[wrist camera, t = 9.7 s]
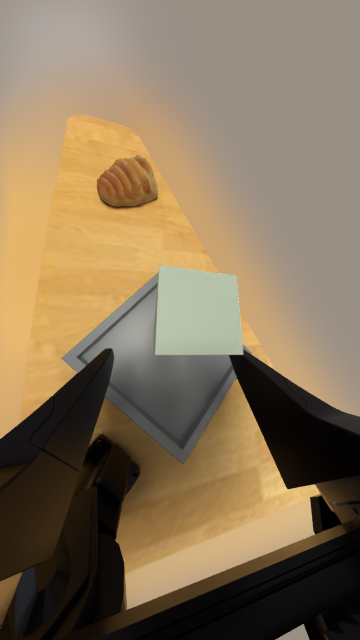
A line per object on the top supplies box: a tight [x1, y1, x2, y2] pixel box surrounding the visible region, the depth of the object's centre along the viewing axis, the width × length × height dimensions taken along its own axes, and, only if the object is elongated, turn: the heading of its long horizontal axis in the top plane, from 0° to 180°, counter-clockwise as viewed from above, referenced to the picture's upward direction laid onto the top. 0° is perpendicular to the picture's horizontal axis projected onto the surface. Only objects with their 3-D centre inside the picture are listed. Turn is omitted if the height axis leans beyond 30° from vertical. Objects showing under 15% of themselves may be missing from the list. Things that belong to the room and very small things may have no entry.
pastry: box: [97, 155, 158, 207], centre depth 21 cm, size 9×7×4 cm
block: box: [153, 265, 243, 355], centre depth 12 cm, size 4×4×12 cm
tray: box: [61, 272, 251, 464], centre depth 17 cm, size 16×18×2 cm
